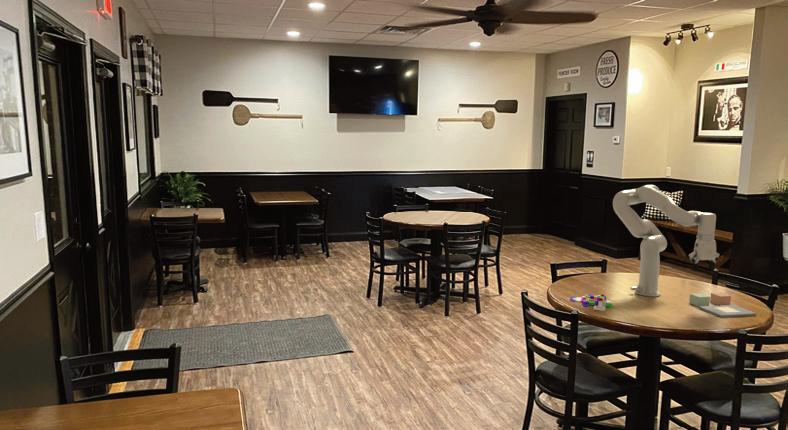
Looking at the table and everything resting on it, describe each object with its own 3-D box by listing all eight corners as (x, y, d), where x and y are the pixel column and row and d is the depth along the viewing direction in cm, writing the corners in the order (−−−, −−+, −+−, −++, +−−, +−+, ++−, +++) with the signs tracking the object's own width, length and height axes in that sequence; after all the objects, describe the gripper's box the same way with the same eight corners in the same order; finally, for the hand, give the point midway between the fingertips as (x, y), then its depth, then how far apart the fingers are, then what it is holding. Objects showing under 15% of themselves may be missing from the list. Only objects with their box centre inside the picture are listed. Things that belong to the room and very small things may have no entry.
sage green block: (698, 306, 287) (699, 297, 287) (689, 303, 294) (690, 293, 293) (709, 306, 289) (710, 296, 288) (700, 302, 295) (700, 293, 294)
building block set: (573, 294, 307) (574, 286, 306) (614, 299, 298) (614, 291, 298) (567, 306, 284) (567, 298, 284) (610, 312, 276) (611, 303, 275)
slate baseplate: (720, 317, 270) (721, 315, 269) (699, 308, 283) (699, 306, 283) (756, 315, 274) (756, 313, 274) (733, 307, 287) (733, 304, 287)
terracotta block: (719, 305, 290) (720, 296, 289) (710, 302, 296) (710, 293, 295) (730, 305, 291) (731, 295, 290) (720, 301, 297) (721, 292, 297)
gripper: (696, 238, 281) (693, 272, 283) (726, 238, 285) (723, 271, 287) (685, 236, 288) (682, 269, 290) (714, 235, 292) (711, 268, 294)
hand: (702, 270), depth 289 cm, fingers open, 9 cm apart
